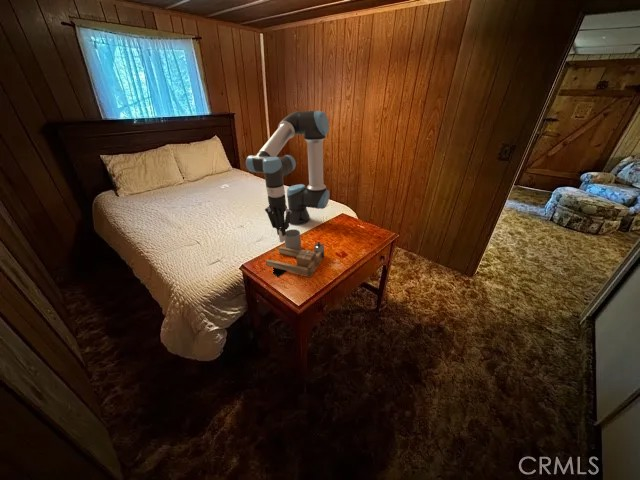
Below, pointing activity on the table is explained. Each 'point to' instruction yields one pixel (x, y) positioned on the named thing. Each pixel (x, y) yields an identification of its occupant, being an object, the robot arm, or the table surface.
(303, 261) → the crate
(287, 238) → the cup
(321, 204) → the robot arm
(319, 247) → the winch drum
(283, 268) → the bay
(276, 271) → the smartphone
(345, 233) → the table surface
